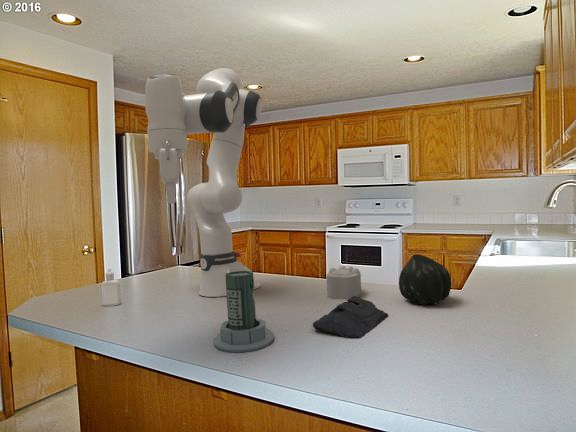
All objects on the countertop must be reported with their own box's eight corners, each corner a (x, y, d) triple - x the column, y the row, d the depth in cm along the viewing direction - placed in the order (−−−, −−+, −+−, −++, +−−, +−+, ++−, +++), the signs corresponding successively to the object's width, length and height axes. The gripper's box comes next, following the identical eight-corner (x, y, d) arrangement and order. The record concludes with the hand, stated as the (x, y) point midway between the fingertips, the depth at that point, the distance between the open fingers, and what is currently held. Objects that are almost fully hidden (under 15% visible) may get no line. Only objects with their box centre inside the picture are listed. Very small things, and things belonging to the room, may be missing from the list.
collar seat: (248, 327, 107) (247, 311, 106) (286, 338, 97) (285, 322, 96) (202, 343, 97) (200, 326, 97) (239, 358, 87) (237, 339, 87)
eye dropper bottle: (112, 307, 133) (109, 270, 133) (100, 305, 136) (97, 269, 135) (123, 303, 137) (120, 267, 136) (111, 302, 140) (108, 267, 139)
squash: (467, 281, 121) (432, 242, 126) (451, 295, 110) (412, 251, 115) (433, 307, 129) (401, 269, 134) (414, 322, 117) (379, 280, 123)
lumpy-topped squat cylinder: (324, 298, 131) (323, 271, 131) (334, 288, 143) (333, 264, 143) (357, 300, 128) (356, 272, 127) (364, 289, 140) (363, 264, 139)
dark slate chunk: (302, 333, 102) (301, 314, 101) (340, 309, 120) (340, 293, 120) (360, 342, 93) (359, 322, 93) (392, 315, 112) (391, 298, 111)
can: (261, 334, 98) (257, 271, 97) (245, 343, 93) (242, 276, 92) (240, 331, 101) (236, 270, 100) (224, 339, 96) (220, 275, 95)
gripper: (182, 137, 88) (186, 202, 88) (181, 148, 107) (185, 201, 108) (151, 138, 86) (155, 204, 87) (156, 149, 106) (159, 203, 107)
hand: (172, 203), depth 98 cm, fingers open, 8 cm apart
